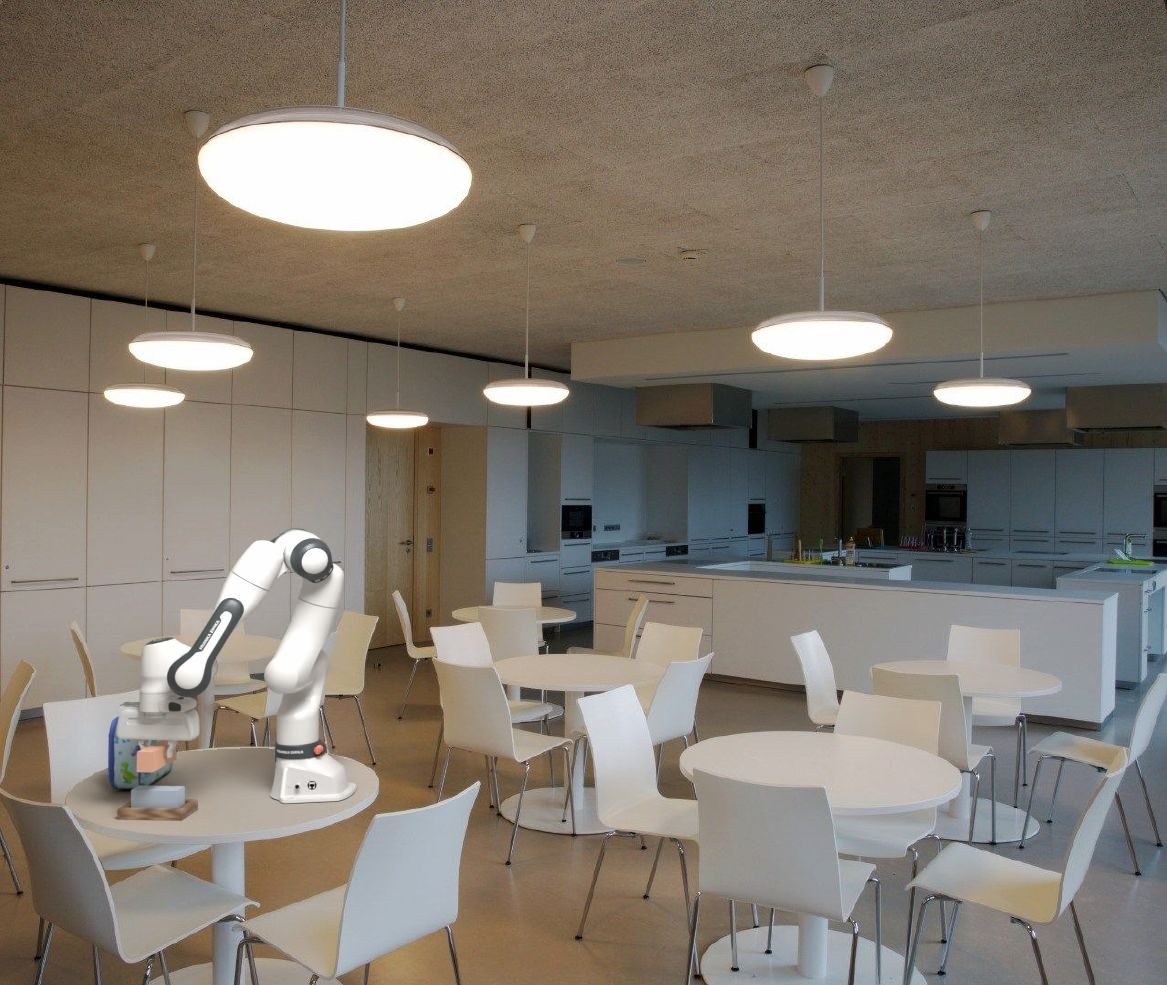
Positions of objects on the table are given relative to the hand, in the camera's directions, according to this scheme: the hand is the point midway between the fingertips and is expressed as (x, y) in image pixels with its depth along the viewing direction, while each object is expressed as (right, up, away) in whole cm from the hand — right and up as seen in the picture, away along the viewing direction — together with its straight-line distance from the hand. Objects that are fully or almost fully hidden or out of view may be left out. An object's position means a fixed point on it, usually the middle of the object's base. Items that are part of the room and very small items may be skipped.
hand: (157, 757), depth 236 cm
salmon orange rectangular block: (0, -2, 0) cm, 2 cm away
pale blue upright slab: (0, -14, 0) cm, 14 cm away
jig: (0, -14, 0) cm, 14 cm away
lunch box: (-18, -16, +30) cm, 38 cm away
